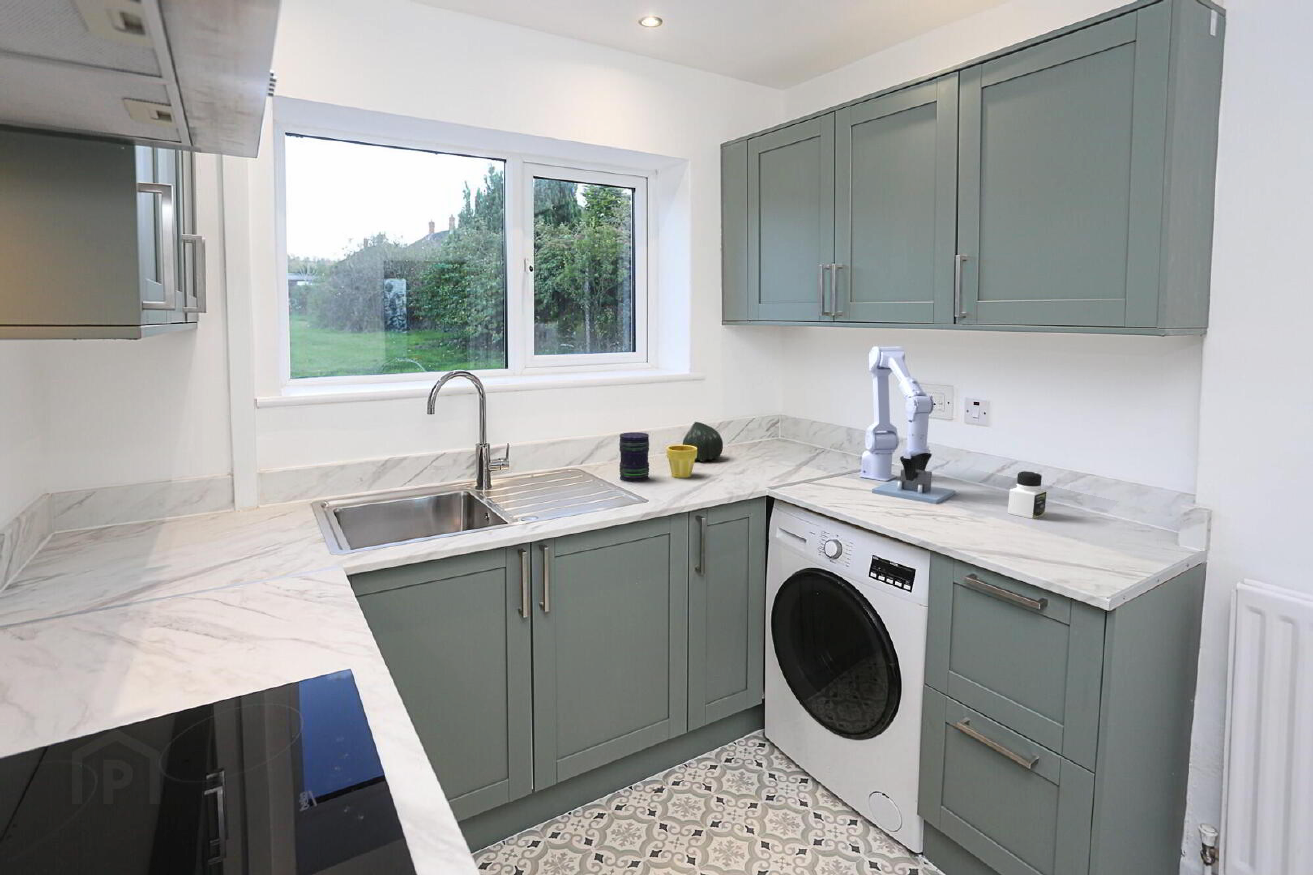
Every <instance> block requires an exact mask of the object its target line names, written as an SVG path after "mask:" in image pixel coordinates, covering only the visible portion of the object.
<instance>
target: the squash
mask: <svg viewBox="0 0 1313 875" xmlns="http://www.w3.org/2000/svg"><path fill="white" fill-rule="evenodd" d="M682 445H689V446H694V447H696V448H697V458H696V459H695V461H694V462H699V461H700V462H707V460H708V461H709V460H714V461H715V460H716V459H718V458H719V457H720V456H721V455H722V453H723V449H724V443H723V438H722V436H721V434H720V433H719V432H718V431H717V430H716V429H715V428H713V427H712V426H709V425H707V424H705V423H703V422H699V421H694V422H693V424H692V425H691V427H690V429H689V430H688V431H687V433H686V434H685V436H684V438H683V440H682Z"/></svg>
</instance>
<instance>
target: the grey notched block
mask: <svg viewBox="0 0 1313 875" xmlns="http://www.w3.org/2000/svg"><path fill="white" fill-rule="evenodd" d="M899 477H900V478H899V481H901V482H902V490H908V491H914V492H918V485H922V493H927V492H929V491H931V486H932V477H933V471H931V470H926V469H925V470H918V469H916V472H915V477H914V480H913V481H910V480H906V477H905V471H904V468H903V469H901V470H900V476H899Z"/></svg>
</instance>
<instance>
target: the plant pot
mask: <svg viewBox="0 0 1313 875" xmlns="http://www.w3.org/2000/svg"><path fill="white" fill-rule="evenodd" d="M666 458H667V459H668V462H669V468H670V473H671V474H670V475H671V477H672V478H677V479H678V478H679V479H686V478H690V477H691V476H692V473H693V468H694V464H695V462H696V461H695V459H696V458H697V448H696V447H694V446H689V445H683V444H675V445H669V446H667V447H666Z"/></svg>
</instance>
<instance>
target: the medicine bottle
mask: <svg viewBox="0 0 1313 875" xmlns="http://www.w3.org/2000/svg"><path fill="white" fill-rule="evenodd" d="M1042 479H1043V478H1042V474H1040V473H1039V472H1036V471H1029V470H1024V471H1020V472H1018V473H1017V477H1016V487H1014V488H1011V489H1009V495H1008V506H1007V507H1008V508H1007V514H1008V515H1013V516H1018V517H1023V518H1026V519H1032V520H1033V519H1037V518H1040V517H1042V516H1044V515H1045V513H1046V503H1047V502H1046V500H1047V489H1041V488H1042Z"/></svg>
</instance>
